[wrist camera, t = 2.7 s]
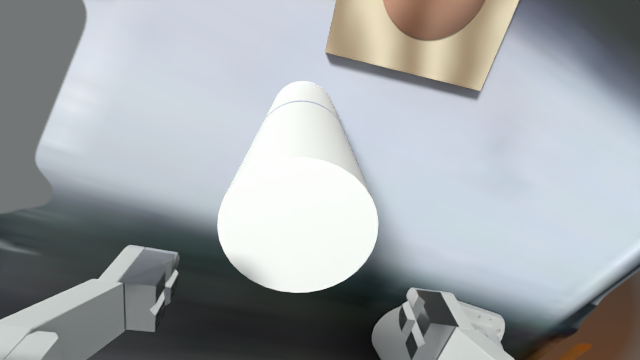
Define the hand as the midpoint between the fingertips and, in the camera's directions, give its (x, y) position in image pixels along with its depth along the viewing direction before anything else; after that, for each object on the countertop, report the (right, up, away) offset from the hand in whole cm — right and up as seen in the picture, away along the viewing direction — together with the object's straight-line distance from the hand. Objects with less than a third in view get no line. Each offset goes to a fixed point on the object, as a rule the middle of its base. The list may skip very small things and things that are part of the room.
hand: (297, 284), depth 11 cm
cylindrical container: (-1, +12, +26) cm, 29 cm away
